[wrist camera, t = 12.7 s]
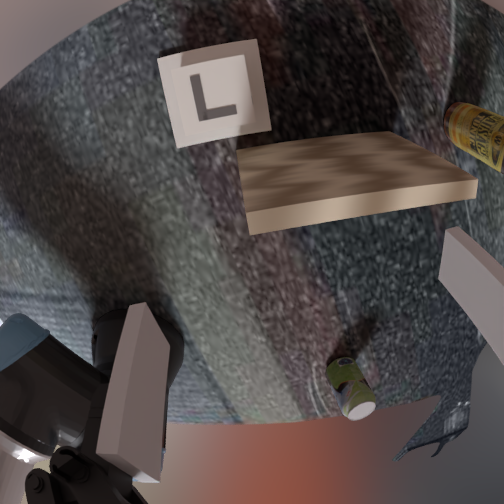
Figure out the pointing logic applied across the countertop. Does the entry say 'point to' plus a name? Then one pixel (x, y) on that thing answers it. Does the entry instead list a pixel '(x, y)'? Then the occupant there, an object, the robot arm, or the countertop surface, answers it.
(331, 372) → the beverage can
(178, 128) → the tile
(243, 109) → the letter cube
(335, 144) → the screen
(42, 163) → the countertop surface
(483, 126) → the sauce bottle
